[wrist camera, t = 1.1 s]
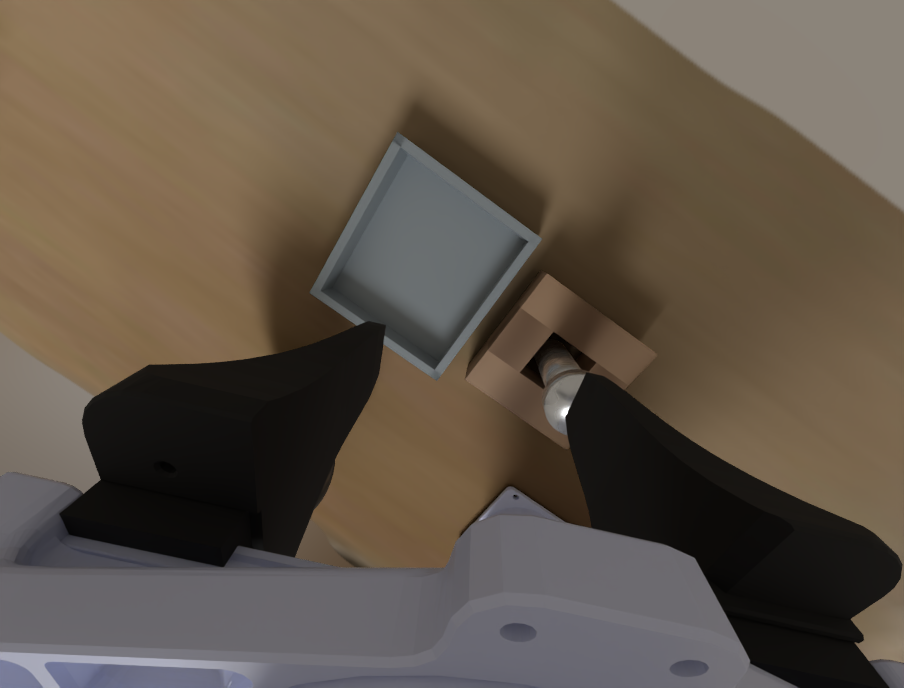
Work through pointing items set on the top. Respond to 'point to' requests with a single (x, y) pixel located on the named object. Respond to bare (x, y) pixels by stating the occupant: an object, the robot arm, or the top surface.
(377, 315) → the tray
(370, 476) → the top surface
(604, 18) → the top surface
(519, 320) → the block
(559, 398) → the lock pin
